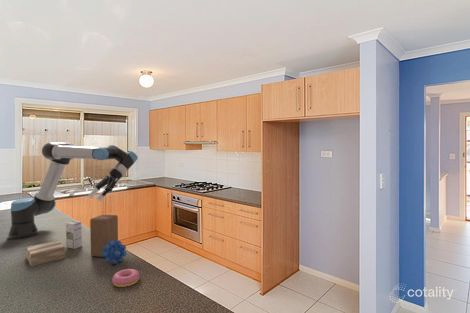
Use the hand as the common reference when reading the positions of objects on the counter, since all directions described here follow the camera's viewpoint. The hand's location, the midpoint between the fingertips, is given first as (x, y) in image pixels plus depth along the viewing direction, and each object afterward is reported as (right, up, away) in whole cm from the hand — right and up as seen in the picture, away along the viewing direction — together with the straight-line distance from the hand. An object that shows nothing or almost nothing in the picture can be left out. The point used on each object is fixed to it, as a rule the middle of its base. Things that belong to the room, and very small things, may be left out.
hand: (93, 198), depth 160 cm
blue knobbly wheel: (+27, -28, -30) cm, 49 cm away
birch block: (-13, -27, -22) cm, 38 cm away
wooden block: (+15, -27, -17) cm, 35 cm away
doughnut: (+39, -28, -47) cm, 67 cm away
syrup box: (-7, -27, -7) cm, 29 cm away
